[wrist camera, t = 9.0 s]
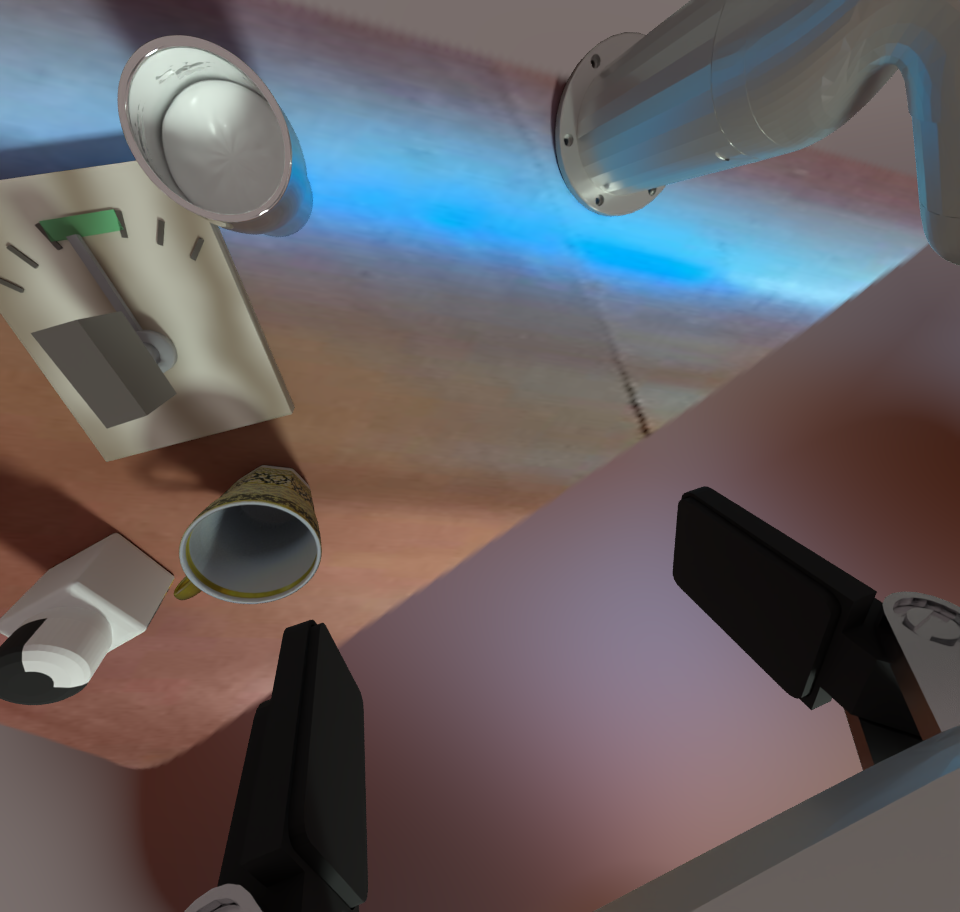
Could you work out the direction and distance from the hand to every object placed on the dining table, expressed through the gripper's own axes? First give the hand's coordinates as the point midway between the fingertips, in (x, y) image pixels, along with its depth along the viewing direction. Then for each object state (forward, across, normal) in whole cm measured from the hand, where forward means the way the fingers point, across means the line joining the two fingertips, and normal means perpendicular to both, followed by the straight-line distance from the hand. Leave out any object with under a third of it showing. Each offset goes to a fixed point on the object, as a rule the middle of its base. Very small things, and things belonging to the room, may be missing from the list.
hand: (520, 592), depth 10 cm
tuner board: (+32, +18, -7) cm, 37 cm away
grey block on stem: (+30, +18, -7) cm, 36 cm away
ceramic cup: (+32, +17, +11) cm, 38 cm away
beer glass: (+32, +6, -14) cm, 36 cm away
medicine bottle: (+32, +32, +14) cm, 48 cm away
